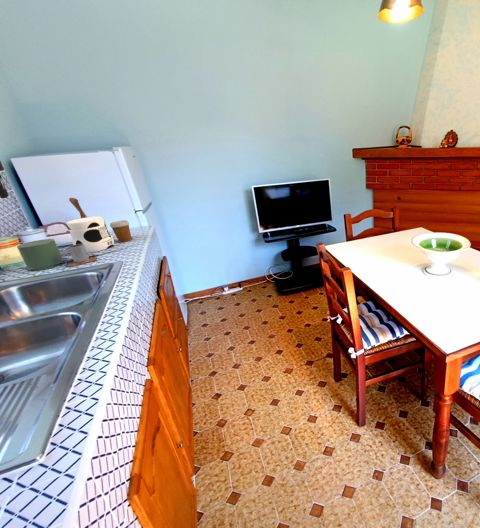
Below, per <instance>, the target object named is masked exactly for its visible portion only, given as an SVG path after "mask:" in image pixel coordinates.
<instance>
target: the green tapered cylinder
mask: <svg viewBox="0 0 480 528" xmlns="http://www.w3.org/2000/svg"><path fill="white" fill-rule="evenodd" d="M16 247H17V250H18V252H19V254H20V256H21V257H22V260H23V262H24V263H25V265H26V268H27V269H28V270H27V272H40V271H45V270H50V269H54V268H57V267H59V266H62V265H64V264H65V263H66V261H63V260H64V258H63V256H62V254H61V251H60V249H59V246H58V245H57V243H56V240H55V239H54V238H44V239H38V240H33V241H27V242H24V243H21V244H19V245H17V246H16Z"/></svg>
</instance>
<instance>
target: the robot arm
mask: <svg viewBox="0 0 480 528" xmlns="http://www.w3.org/2000/svg"><path fill="white" fill-rule="evenodd" d="M1 171H2V172H3V171H5V167H4V166H3V163H2V161H1V160H0V172H1ZM6 188H7V186H6V184H5V180H4V178H3V175H2V174H0V199H8V198H9V195H10V194H9V192H8V190H7V189H6Z"/></svg>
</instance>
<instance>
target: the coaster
mask: <svg viewBox="0 0 480 528" xmlns="http://www.w3.org/2000/svg"><path fill="white" fill-rule="evenodd" d="M88 256H89V260H87V261H84V262H80V263H74V261H73V259H72V260H67V261H66V263H67V267H68V268H73V267H78V266H81V265H85V264H89V263H95V262H97V261H98V259H97V258H96V256H95V255H88Z"/></svg>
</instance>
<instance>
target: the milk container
mask: <svg viewBox="0 0 480 528" xmlns="http://www.w3.org/2000/svg"><path fill="white" fill-rule="evenodd" d="M66 226H67V229H68V232H69V234H70V235H71V238H72V245H76V244H84V247H85V249H86V252H87V254H93V253H98V252H102V251H105V250H109V249H111V248H113V247H114V246H115V240H114V238H113V236H112V235H111V234H110V232H109V230H108V227H107V225H106V222H105V219H104V218H103V216H87V218H81V217H80V218H76V219H72V220H69V221H66Z"/></svg>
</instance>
